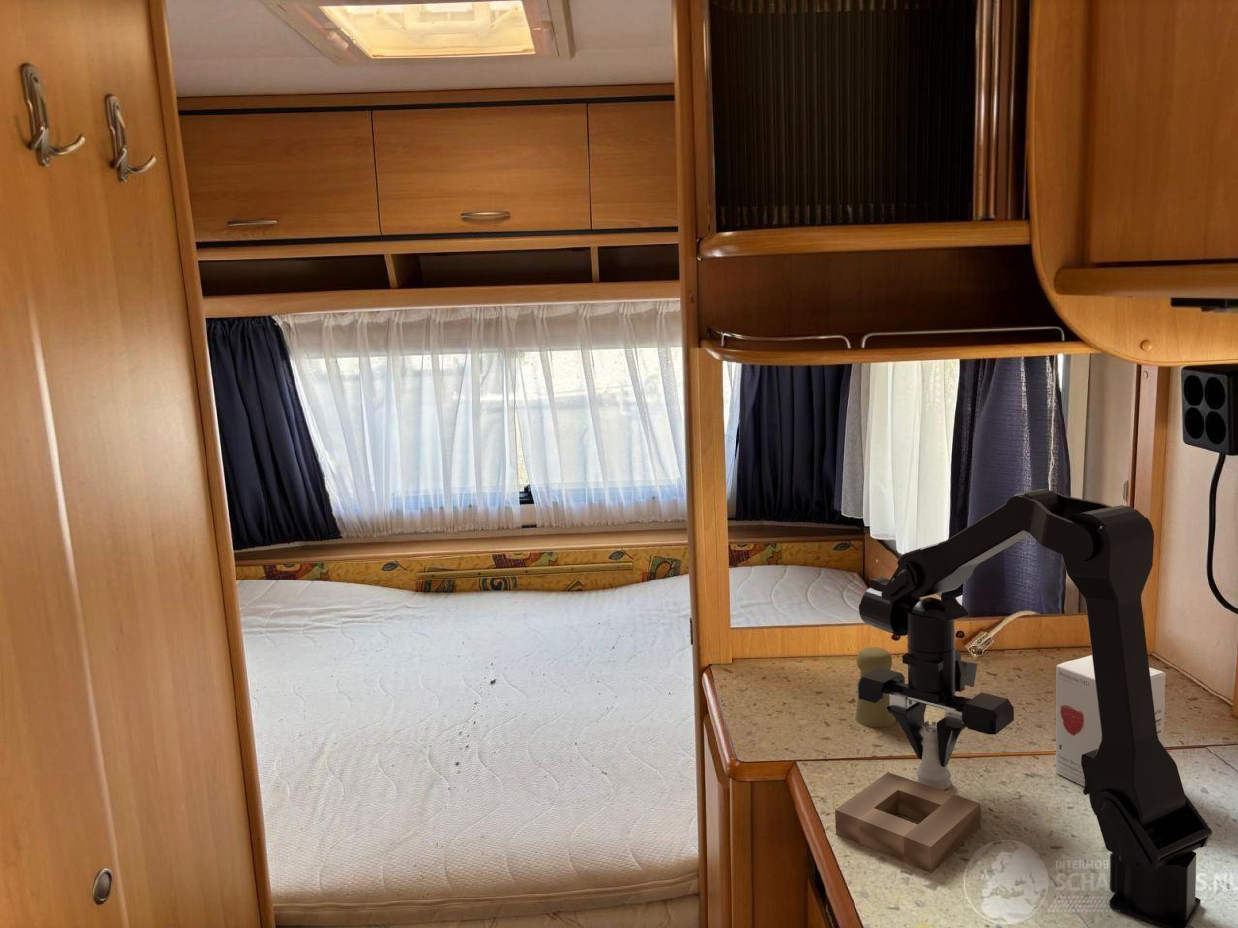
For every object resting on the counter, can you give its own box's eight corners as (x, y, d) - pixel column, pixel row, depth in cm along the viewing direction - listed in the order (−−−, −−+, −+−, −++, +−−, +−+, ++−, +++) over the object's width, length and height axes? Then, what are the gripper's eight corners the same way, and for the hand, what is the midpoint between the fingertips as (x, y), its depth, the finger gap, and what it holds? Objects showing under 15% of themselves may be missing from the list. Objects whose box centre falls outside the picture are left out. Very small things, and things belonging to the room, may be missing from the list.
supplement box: (1052, 773, 115) (1052, 663, 113) (1100, 756, 119) (1101, 649, 117) (1116, 804, 107) (1118, 686, 105) (1165, 785, 110) (1167, 670, 108)
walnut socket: (980, 827, 104) (980, 803, 103) (931, 872, 95) (930, 846, 95) (888, 794, 112) (887, 771, 112) (835, 833, 104) (834, 809, 104)
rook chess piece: (922, 772, 117) (921, 715, 116) (956, 781, 114) (955, 722, 113) (909, 786, 114) (908, 727, 113) (944, 795, 111) (943, 735, 110)
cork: (865, 729, 131) (863, 658, 130) (848, 713, 137) (846, 645, 136) (903, 724, 132) (902, 653, 131) (885, 708, 138) (883, 641, 137)
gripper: (1032, 643, 110) (1032, 760, 112) (896, 616, 124) (898, 722, 126) (993, 668, 103) (994, 794, 105) (853, 637, 116) (856, 749, 118)
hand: (933, 761), depth 114 cm, fingers closed on rook chess piece, 3 cm apart
